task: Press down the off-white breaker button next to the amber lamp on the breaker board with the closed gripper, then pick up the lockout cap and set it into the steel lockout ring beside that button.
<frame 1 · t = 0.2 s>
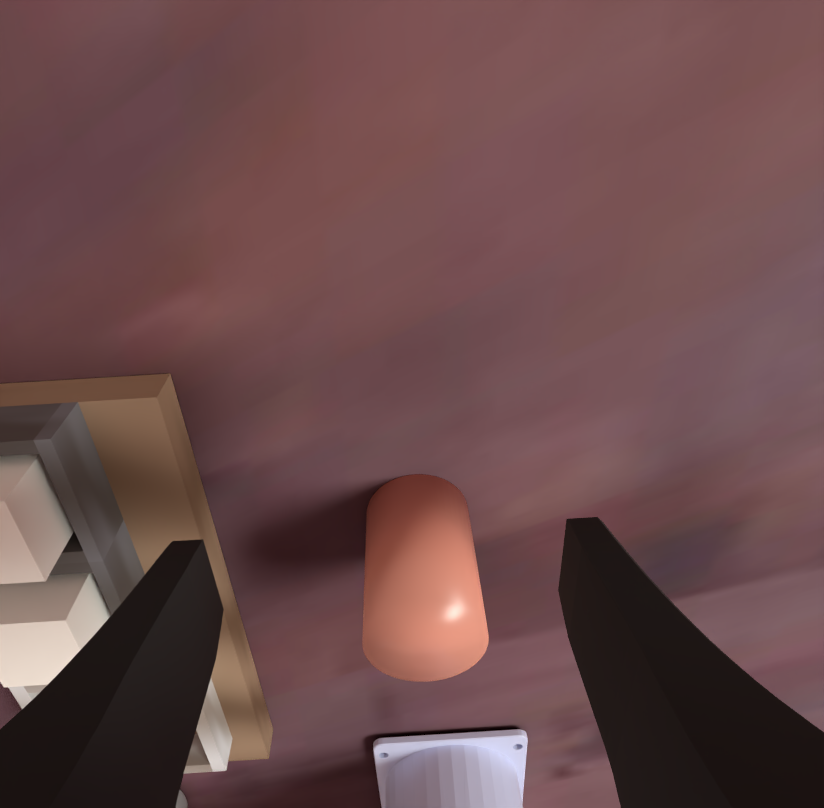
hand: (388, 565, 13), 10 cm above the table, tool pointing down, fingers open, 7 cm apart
lockout cap: (417, 513, 26), on the table
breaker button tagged: (47, 627, 22), point 4 cm above the table, slide at 0.0 cm
breaker board: (114, 595, 27), on the table
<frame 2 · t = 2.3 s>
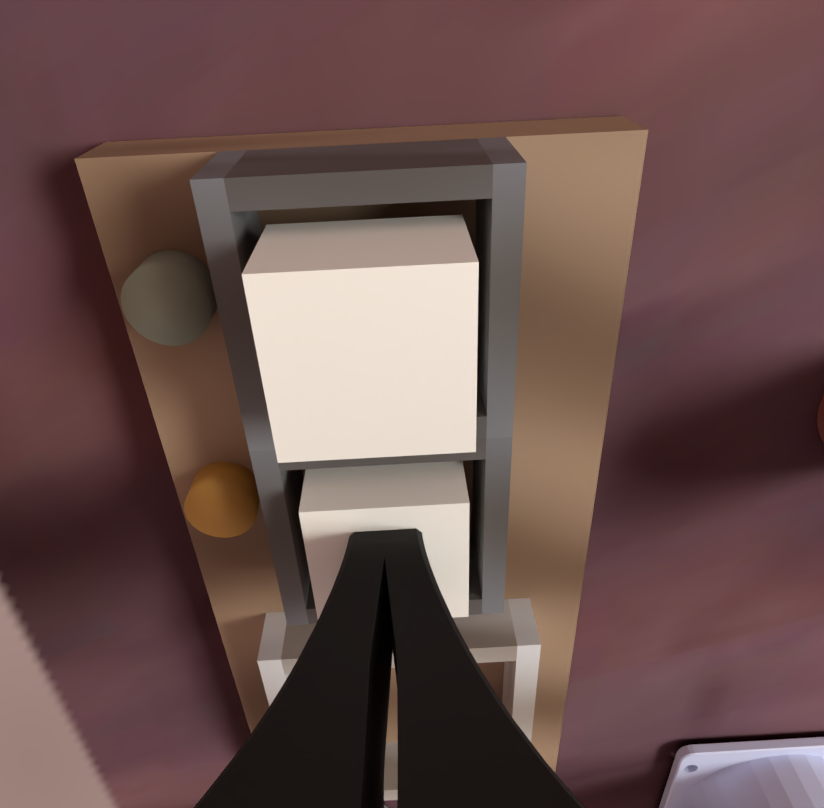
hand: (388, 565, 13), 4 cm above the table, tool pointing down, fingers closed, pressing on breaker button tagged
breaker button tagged: (388, 529, 14), point 3 cm above the table, slide at 0.8 cm, touching gripper
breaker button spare: (370, 337, 11), point 4 cm above the table, slide at 0.0 cm
breaker board: (394, 529, 18), on the table
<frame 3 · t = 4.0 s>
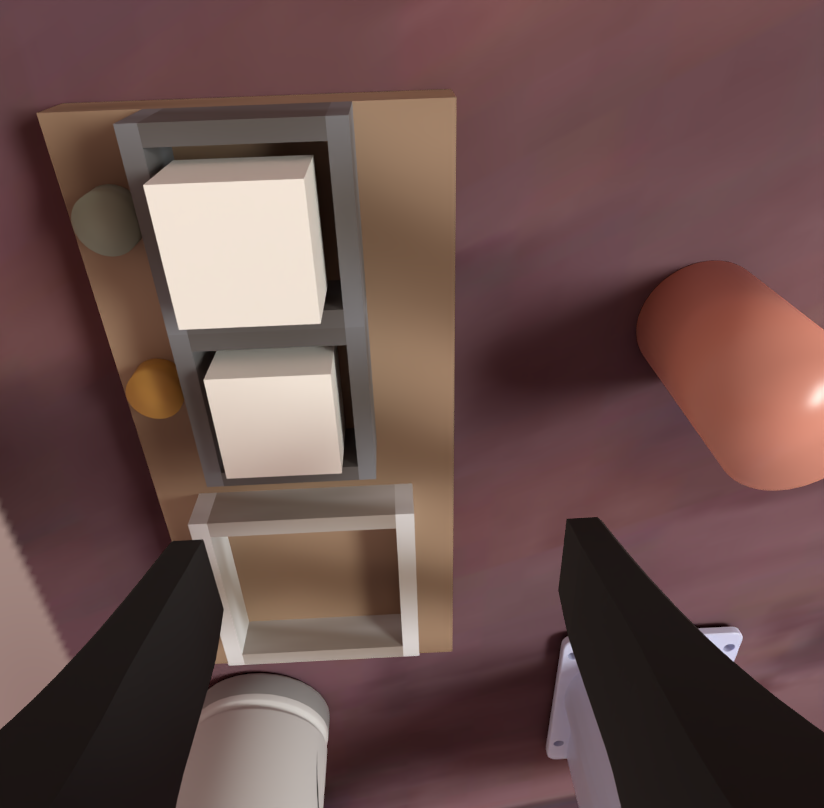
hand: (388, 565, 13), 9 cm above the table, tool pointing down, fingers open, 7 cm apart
lockout cap: (698, 320, 21), on the table
travel mug: (263, 708, 31), on the table
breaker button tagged: (281, 406, 18), point 3 cm above the table, slide at 0.8 cm
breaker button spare: (246, 241, 15), point 4 cm above the table, slide at 0.0 cm
breaker board: (305, 429, 22), on the table
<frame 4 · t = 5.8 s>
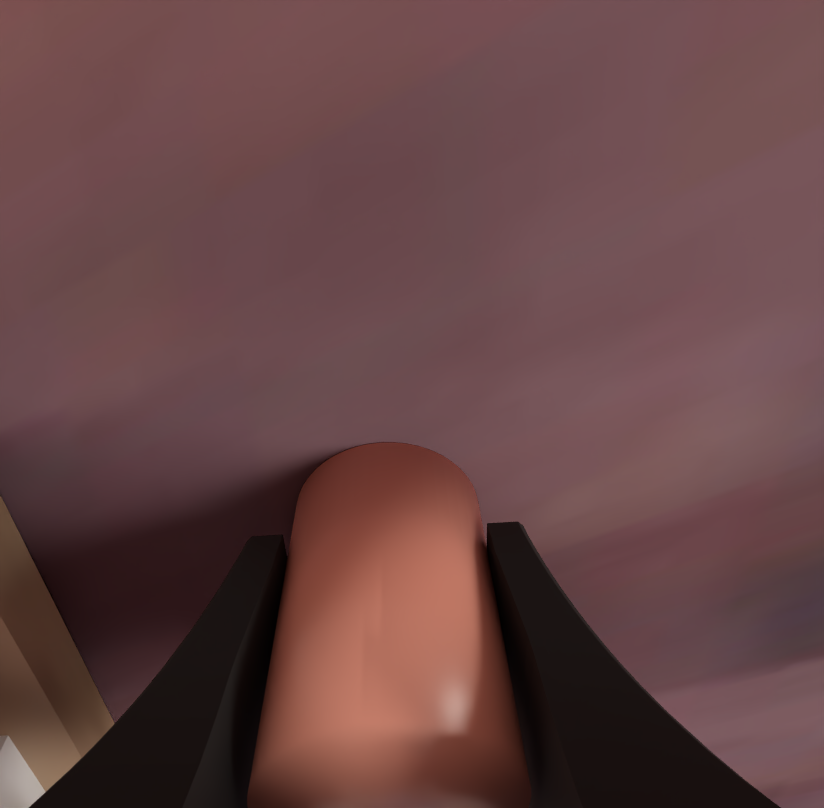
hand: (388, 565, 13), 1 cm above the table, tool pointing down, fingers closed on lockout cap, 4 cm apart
lockout cap: (388, 516, 14), on the table, touching gripper
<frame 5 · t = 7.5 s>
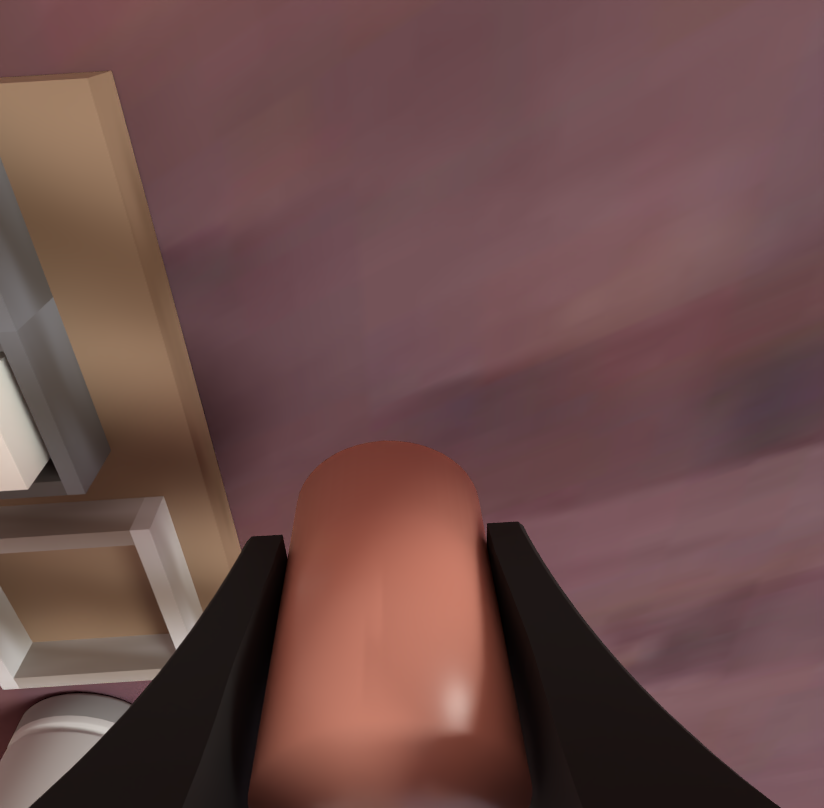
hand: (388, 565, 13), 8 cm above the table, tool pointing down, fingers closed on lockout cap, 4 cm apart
lockout cap: (388, 514, 14), point 7 cm above the table, touching gripper
travel mug: (95, 728, 30), on the table
breaker board: (55, 440, 21), on the table
when the fingers open (4 cm above the table, at t = 9.5 s): lockout cap stays where it is, resting on breaker board.
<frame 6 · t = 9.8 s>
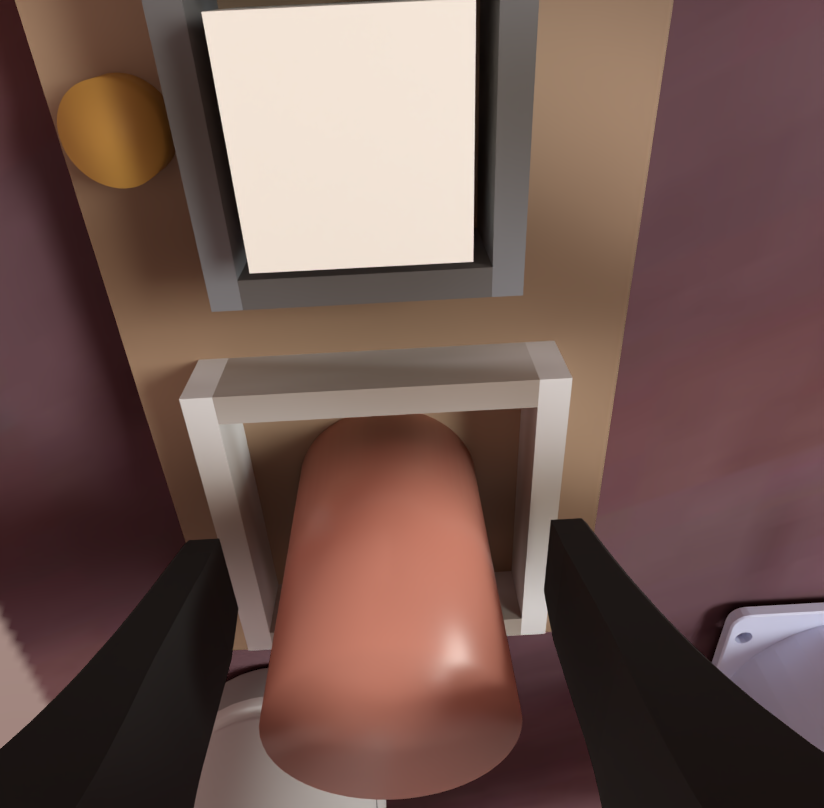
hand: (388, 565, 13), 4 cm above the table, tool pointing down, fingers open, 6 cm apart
lockout cap: (388, 481, 15), point 2 cm above the table, touching breaker board
travel mug: (294, 715, 23), on the table
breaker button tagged: (354, 133, 9), point 3 cm above the table, slide at 0.8 cm
breaker board: (373, 257, 14), on the table
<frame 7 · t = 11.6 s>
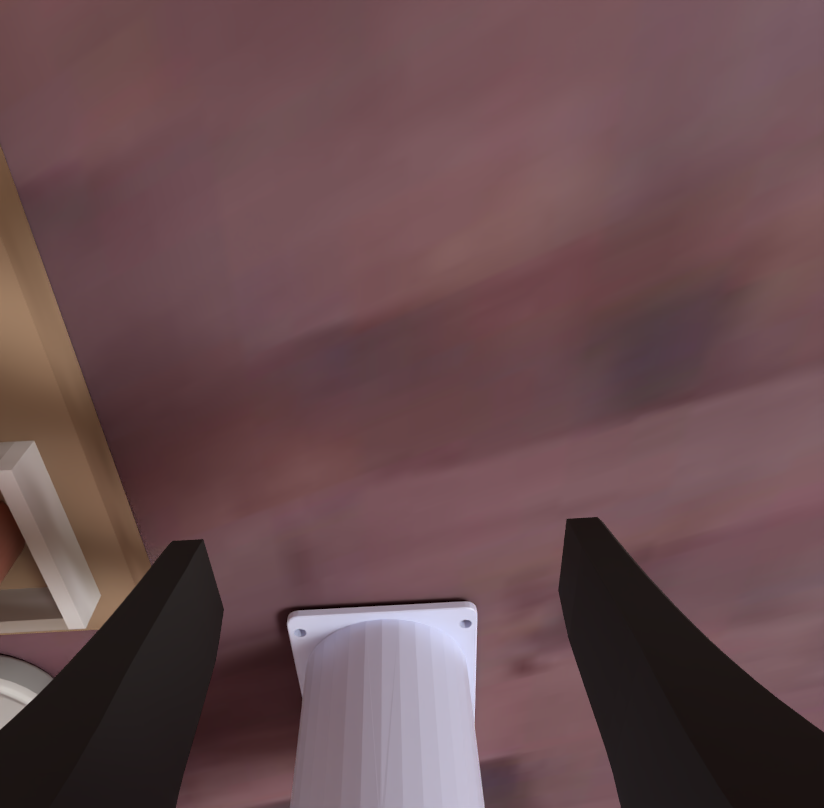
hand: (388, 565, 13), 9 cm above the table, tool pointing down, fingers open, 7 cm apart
travel mug: (0, 690, 30), on the table
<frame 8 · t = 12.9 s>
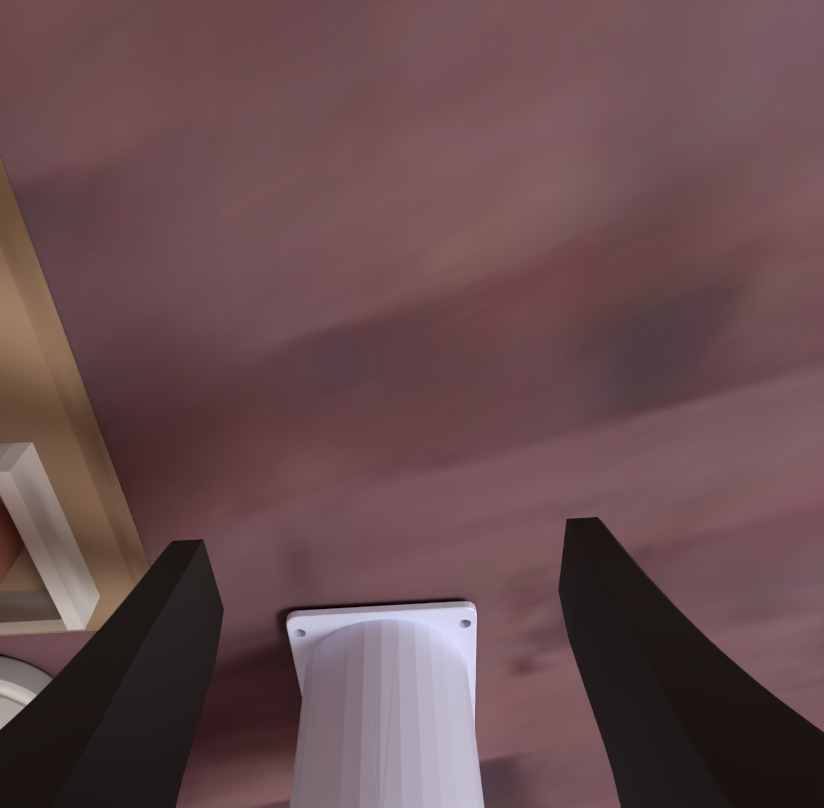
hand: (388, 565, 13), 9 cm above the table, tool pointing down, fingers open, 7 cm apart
travel mug: (0, 691, 30), on the table
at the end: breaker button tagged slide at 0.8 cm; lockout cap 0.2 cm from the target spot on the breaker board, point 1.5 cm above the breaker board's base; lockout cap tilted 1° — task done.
